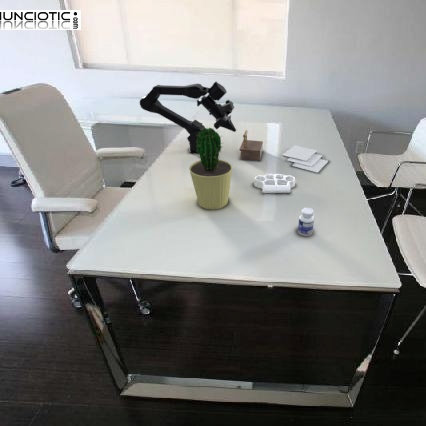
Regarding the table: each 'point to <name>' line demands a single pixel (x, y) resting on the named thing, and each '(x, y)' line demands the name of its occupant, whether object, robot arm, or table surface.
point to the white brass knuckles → (274, 183)
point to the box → (251, 155)
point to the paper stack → (305, 158)
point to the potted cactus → (210, 172)
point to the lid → (250, 144)
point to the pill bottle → (306, 222)
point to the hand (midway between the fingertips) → (235, 131)
